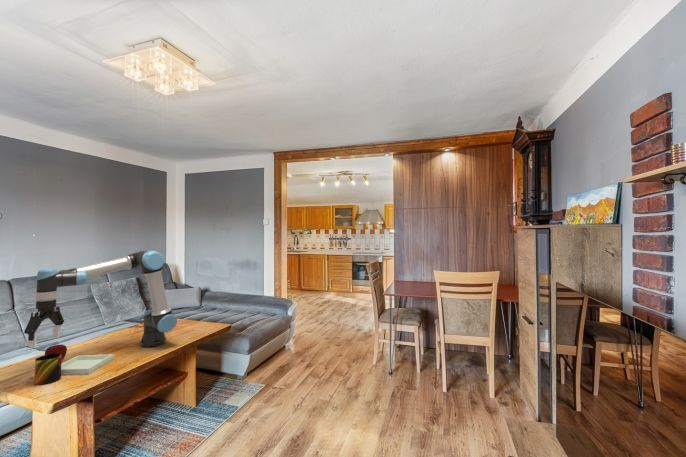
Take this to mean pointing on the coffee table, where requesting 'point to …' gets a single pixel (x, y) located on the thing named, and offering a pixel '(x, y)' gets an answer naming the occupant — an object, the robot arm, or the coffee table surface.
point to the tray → (85, 364)
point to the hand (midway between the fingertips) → (44, 342)
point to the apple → (57, 350)
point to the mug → (47, 369)
